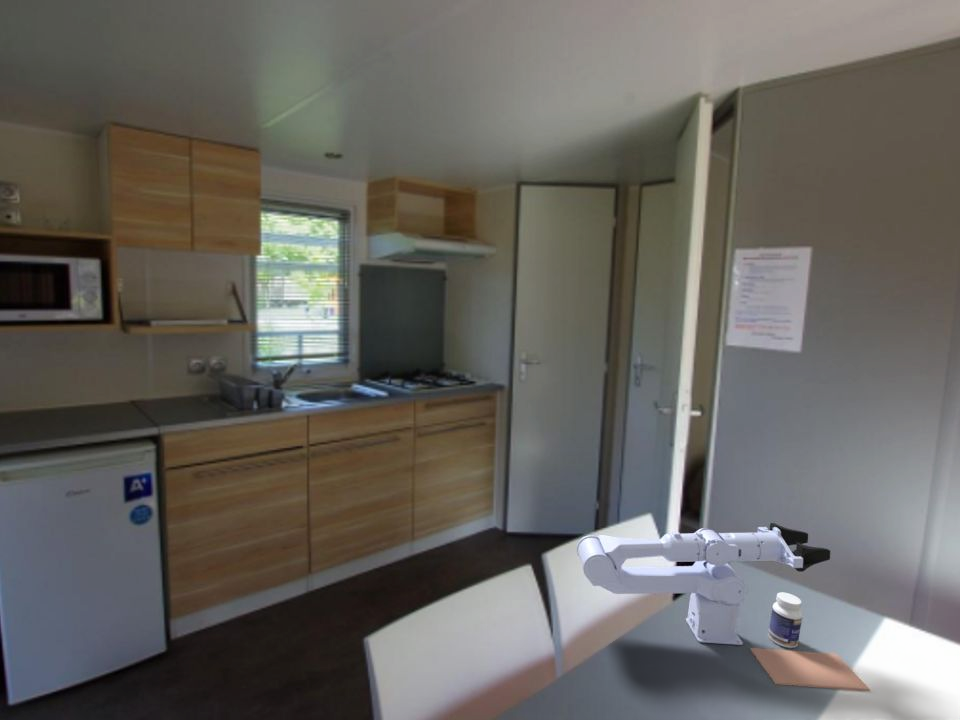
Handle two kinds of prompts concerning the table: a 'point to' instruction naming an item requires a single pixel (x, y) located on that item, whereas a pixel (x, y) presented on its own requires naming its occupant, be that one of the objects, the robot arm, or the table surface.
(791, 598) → the pill bottle
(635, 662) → the table surface
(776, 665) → the mat
